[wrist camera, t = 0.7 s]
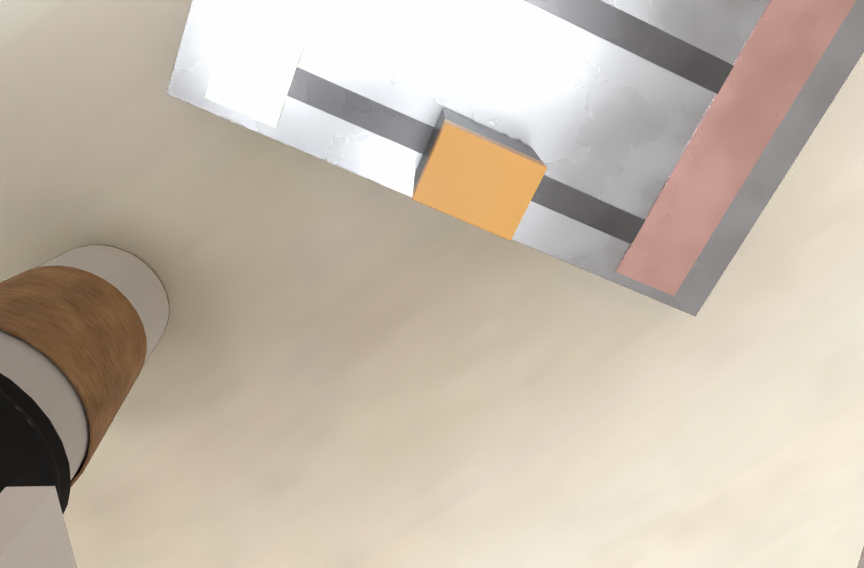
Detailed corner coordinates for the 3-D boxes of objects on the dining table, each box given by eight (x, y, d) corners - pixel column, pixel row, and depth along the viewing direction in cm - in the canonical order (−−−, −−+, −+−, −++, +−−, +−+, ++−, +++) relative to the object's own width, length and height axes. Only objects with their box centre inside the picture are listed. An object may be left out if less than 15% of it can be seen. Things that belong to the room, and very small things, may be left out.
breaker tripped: (414, 174, 28) (412, 199, 25) (443, 107, 27) (445, 122, 24) (500, 211, 29) (510, 240, 25) (531, 147, 28) (547, 167, 24)
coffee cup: (186, 220, 31) (-9, 390, 17) (203, 381, 34) (49, 634, 20) (2, 214, 31) (-346, 380, 17) (36, 376, 34) (-235, 627, 20)
